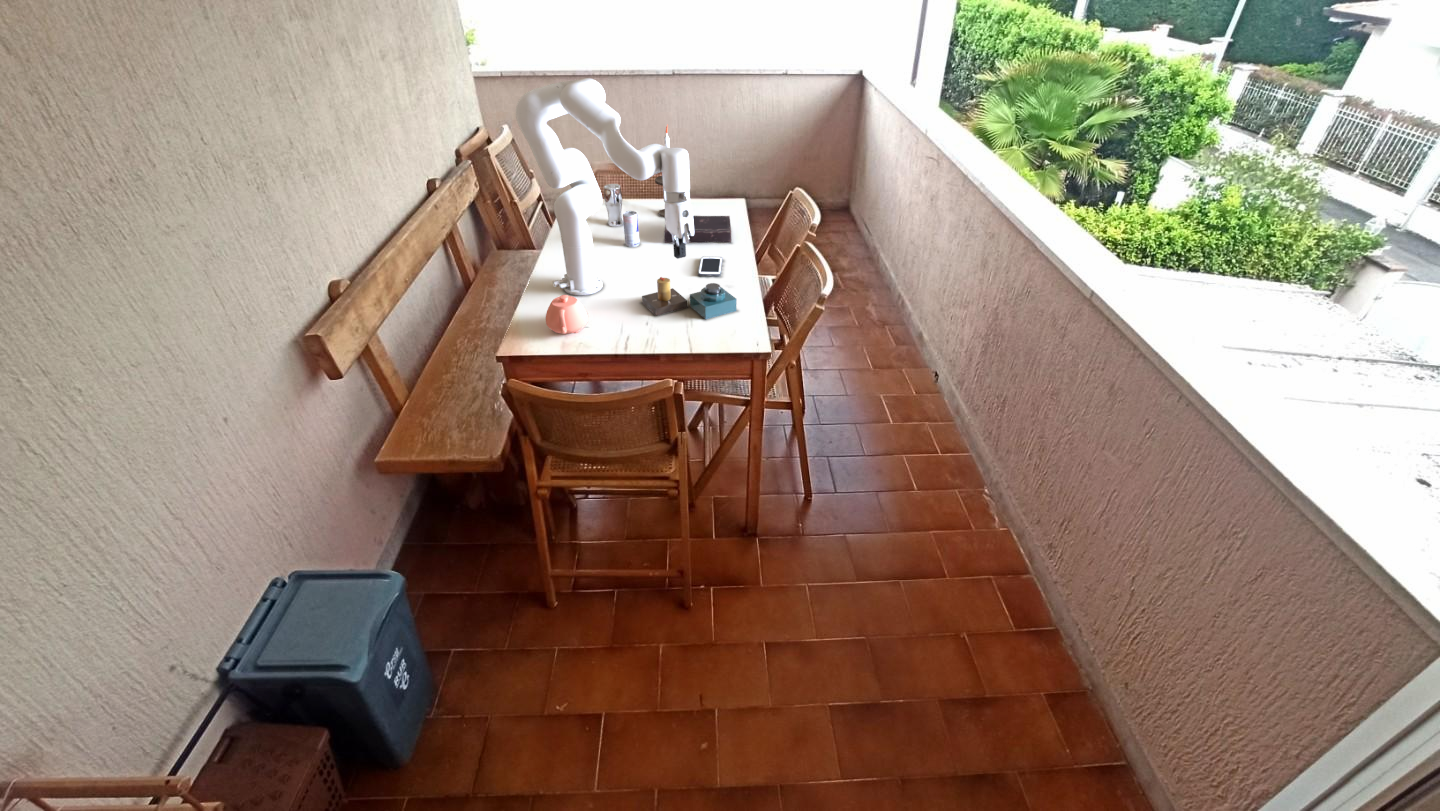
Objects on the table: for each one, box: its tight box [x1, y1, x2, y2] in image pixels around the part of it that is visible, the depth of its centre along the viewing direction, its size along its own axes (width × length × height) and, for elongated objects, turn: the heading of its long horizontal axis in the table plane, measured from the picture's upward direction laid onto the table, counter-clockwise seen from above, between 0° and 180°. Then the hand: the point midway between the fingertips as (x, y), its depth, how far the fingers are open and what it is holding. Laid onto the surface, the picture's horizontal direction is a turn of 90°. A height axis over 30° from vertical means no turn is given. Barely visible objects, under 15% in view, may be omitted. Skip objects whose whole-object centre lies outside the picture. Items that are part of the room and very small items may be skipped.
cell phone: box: [698, 256, 724, 277], centre depth 224 cm, size 8×15×1 cm, turn 177°
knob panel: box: [641, 288, 689, 317], centre depth 201 cm, size 11×10×3 cm
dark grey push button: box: [705, 282, 721, 295], centre depth 196 cm, size 4×4×2 cm
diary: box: [663, 215, 732, 244], centre depth 248 cm, size 19×25×5 cm
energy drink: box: [622, 210, 641, 248], centre depth 238 cm, size 5×5×12 cm
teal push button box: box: [689, 286, 737, 320], centre depth 199 cm, size 11×10×6 cm
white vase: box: [603, 183, 624, 228], centre depth 254 cm, size 7×7×15 cm
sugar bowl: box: [545, 294, 589, 335], centre depth 187 cm, size 12×14×10 cm
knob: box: [656, 276, 672, 301], centre depth 199 cm, size 4×4×6 cm
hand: (680, 256), depth 191 cm, fingers closed
